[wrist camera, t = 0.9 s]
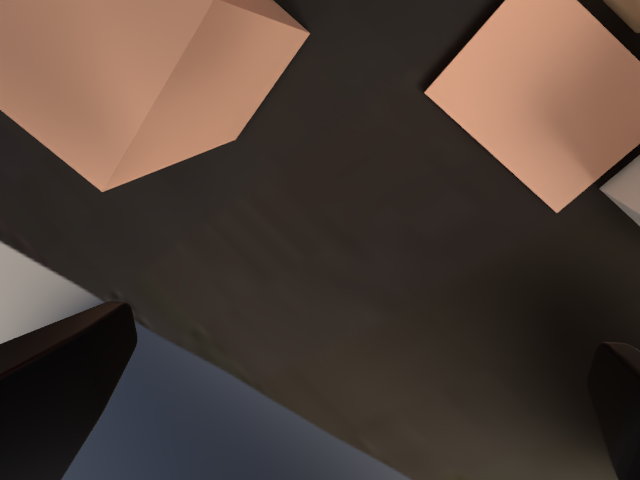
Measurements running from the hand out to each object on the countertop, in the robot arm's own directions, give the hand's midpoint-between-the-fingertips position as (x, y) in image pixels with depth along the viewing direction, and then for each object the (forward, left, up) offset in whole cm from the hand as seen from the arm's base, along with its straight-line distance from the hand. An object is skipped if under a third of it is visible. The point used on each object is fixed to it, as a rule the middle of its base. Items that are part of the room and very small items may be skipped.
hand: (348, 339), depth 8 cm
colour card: (+1, -7, -13) cm, 15 cm away
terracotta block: (+9, +5, -13) cm, 17 cm away
